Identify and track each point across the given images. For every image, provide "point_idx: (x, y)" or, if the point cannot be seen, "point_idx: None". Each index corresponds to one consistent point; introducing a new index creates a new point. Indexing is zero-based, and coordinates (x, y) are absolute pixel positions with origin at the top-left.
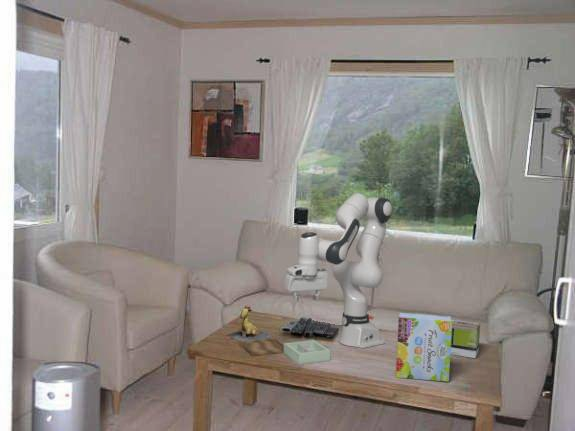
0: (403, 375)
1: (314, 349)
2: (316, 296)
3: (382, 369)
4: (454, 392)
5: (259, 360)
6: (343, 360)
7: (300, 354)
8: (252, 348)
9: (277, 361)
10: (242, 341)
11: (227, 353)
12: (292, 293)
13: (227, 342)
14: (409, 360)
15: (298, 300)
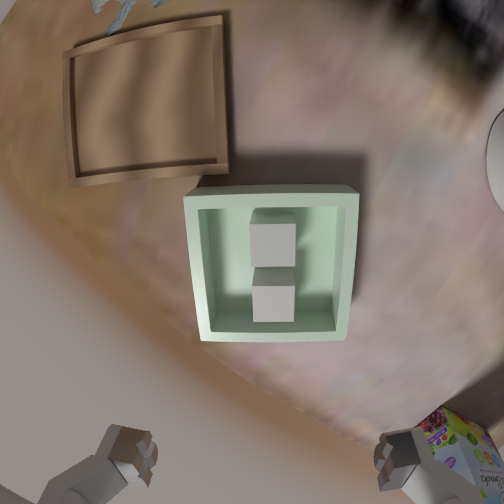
0: None
1: (289, 314)
2: (401, 483)
3: (425, 394)
4: None
5: (91, 232)
6: (386, 320)
7: (206, 340)
8: (89, 116)
9: (146, 260)
10: (97, 11)
11: (20, 140)
12: (58, 485)
13: (50, 24)
14: None
15: (155, 459)
